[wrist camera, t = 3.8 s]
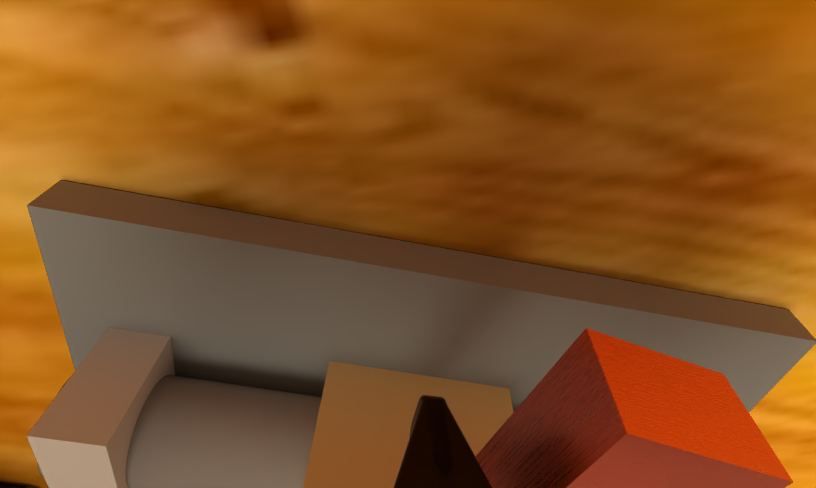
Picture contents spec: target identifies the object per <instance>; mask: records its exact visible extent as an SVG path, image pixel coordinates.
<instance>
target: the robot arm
mask: <svg viewBox="0 0 816 488" xmlns="http://www.w3.org/2000/svg"><path fill="white" fill-rule="evenodd" d="M0 488H20V487H11V486H3V485H0ZM394 488H492V486H491V484H490V482H489V481H488V479H487V477H486V475H485V473H484V471H483V470H482V468H481V466H480V464H479V462H478V460H477V459H476V457H475V455H474V453H473V451H472V449H471V447H470V446H469V444H468V442H467V440H466V438H465V436H464V435H463V433H462V431H461V429H460V427H459V425H458V424H457V422H456V420H455V418H454V416H453V414H452V413H451V411H450V409H449V407H448V405H447V403H446V400H445V399H444V398H443V397H438V396H430V395H422V396H421V397H420V398H419V401H418V404H417V407H416V410H415V413H414V417H413V420H412V423H411V429H410V438H409V441H408V445H407V448H406V451H405V454H404V457H403V460H402V463H401V466H400V469H399V472H398V475H397V478H396V481H395V484H394Z"/></svg>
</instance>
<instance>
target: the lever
mask: <svg viewBox="0 0 816 488" xmlns="http://www.w3.org/2000/svg"><path fill="white" fill-rule="evenodd" d="M475 457H476V459H477V460H478V462H479V464H480V466H481V468H482V470H483V471H484V473H485V475H486V477H487V479H488V481H489V482H490V484H491V486H492V488H785V487H786V486H788V485H790V484H791V483H793V481H792V479H791V478H790V476H789V475H788V473H787V472H786V470H785V469H784V467H783V465H782V464H781V462H780V461H779V459H778V458H777V456H776V455H775V453H774V451H773V450H772V448H771V447H770V445H769V444H768V442H767V441H766V439H765V437H764V436H763V434H762V433H761V431H760V430H759V428H758V427H757V425H756V423H755V422H754V420H753V419H752V417H751V416H750V414H749V413H748V411H747V409H746V408H745V406H744V405H743V403H742V402H741V400H740V399H739V397H738V395H737V394H736V392H735V391H734V389H733V388H732V386H731V385H730V383H729V381H728V380H727V378H726V377H725V375H724V374H722V373H719V372H716V371H713V370H710V369H707V368H704V367H701V366H698V365H695V364H692V363H689V362H687V361H684V360H681V359H678V358H675V357H672V356H669V355H666V354H663V353H660V352H657V351H654V350H651V349H648V348H645V347H642V346H639V345H636V344H633V343H630V342H627V341H624V340H621V339H618V338H615V337H612V336H609V335H606V334H603V333H600V332H597V331H594V330H591V329H588V328H586V329H585V330H584V331H583V332H582V333H581V334H580V336H579V337H578V338H577V339H576V340H575V341H574V343H573V344H572V345H571V346H570V347H569V348H568V350H567V351H566V352H565V353H564V354H563V355H562V356H561V358H560V359H559V360H558V361H557V362H556V363H555V365H554V366H553V367H552V368H551V369H550V370H549V372H548V373H547V374H546V375H545V376H544V377H543V379H542V380H541V381H540V382H539V383H538V384H537V386H536V387H535V388H534V389H533V390H532V391H531V392H530V394H529V395H528V396H527V397H526V398H525V399H524V401H523V402H522V403H521V404H520V405H519V406H518V408H517V409H516V410H515V411H514V412H513V413H512V415H511V416H510V417H509V418H508V419H507V420H506V422H505V423H504V424H503V425H502V426H501V427H500V428H499V430H498V431H497V432H496V433H495V434H494V435H493V437H492V438H491V439H490V440H489V441H488V442H487V444H486V445H485V446H484V447H483V448H482V449H481V451H480V452H479V453H478V454H477V455H476V456H475Z"/></svg>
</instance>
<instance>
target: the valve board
mask: <svg viewBox="0 0 816 488" xmlns="http://www.w3.org/2000/svg"><path fill="white" fill-rule="evenodd" d="M27 207H28V210H29V214H30V217H31V221H32V224H33V227H34V231H35V234H36V238H37V241H38V244H39V248H40V251H41V255H42V258H43V261H44V265H45V268H46V272H47V275H48V279H49V282H50V285H51V289H52V292H53V296H54V299H55V302H56V306H57V309H58V313H59V316H60V319H61V323H62V326H63V330H64V333H65V337H66V340H67V343H68V347H69V350H70V354H71V357H72V360H73V364H74V367H75V372H74V373H73V375H72V376H71V377H70V378H69V379H68V380H67V382H66V383H65V384H64V385H63V387H62V388H61V390H60V391H59V393H58V394H57V396H56V397H55V399H54V400H53V401H52V403H51V404H50V405H49V407H48V408H47V409H46V411H45V412H44V413H43V415H42V416H41V417H40V419H39V420H38V421H37V423H36V424H35V425H34V427H33V428H32V429H31V431H30V432H29V433H28V435H27V438H28V441H29V443H30V445H31V448H32V450H33V452H34V455H35V457H36V459H37V463H38V469H39V472H40V474H41V476H42V477H43V478H44V479H45V480H46V483H47V485H48V487H49V488H394V484H395V481H396V478H397V475H398V472H399V469H400V466H401V463H402V460H403V457H404V454H405V451H406V448H407V445H408V441H409V438H410V429H411V423H412V420H413V417H414V413H415V410H416V407H417V404H418V401H419V398H420V397H421V396H422V395H430V396H438V397H443V398H444V399H445V400H446V403H447V405H448V407H449V409H450V411H451V413H452V414H453V416H454V418H455V420H456V422H457V424H458V425H459V427H460V429H461V431H462V433H463V435H464V436H465V438H466V440H467V442H468V444H469V446H470V447H471V449H472V451H473V453H474V455H475V456H476V455H477V454H478V453H479V452H480V451H481V449H482V448H483V447H484V446H485V445H486V444H487V442H488V441H489V440H490V439H491V438H492V437H493V435H494V434H495V433H496V432H497V431H498V430H499V428H500V427H501V426H502V425H503V424H504V423H505V422H506V420H507V419H508V418H509V417H510V416H511V415H512V413H513V412H514V411H515V410H516V409H517V408H518V406H519V405H520V404H521V403H522V402H523V401H524V399H525V398H526V397H527V396H528V395H529V394H530V392H531V391H532V390H533V389H534V388H535V387H536V386H537V384H538V383H539V382H540V381H541V380H542V379H543V377H544V376H545V375H546V374H547V373H548V372H549V370H550V369H551V368H552V367H553V366H554V365H555V363H556V362H557V361H558V360H559V359H560V358H561V356H562V355H563V354H564V353H565V352H566V351H567V350H568V348H569V347H570V346H571V345H572V344H573V343H574V341H575V340H576V339H577V338H578V337H579V336H580V334H581V333H582V332H583V331H584V330H585V329H586V328H588V329H591V330H594V331H597V332H600V333H603V334H606V335H609V336H612V337H615V338H618V339H621V340H624V341H627V342H630V343H633V344H636V345H639V346H642V347H645V348H648V349H651V350H654V351H657V352H660V353H663V354H666V355H669V356H672V357H675V358H678V359H681V360H684V361H687V362H689V363H692V364H695V365H698V366H701V367H704V368H707V369H710V370H713V371H716V372H719V373H722V374H724V375H725V377H726V378H727V380H728V381H729V383H730V385H731V386H732V388H733V389H734V391H735V392H736V394H737V395H738V397H739V399H740V400H741V402H742V403H743V405H744V406H745V408H746V409H747V411H748V413H749V412H750V411H751V410H752V409H753V407H754V406H755V405H756V404H757V403H758V402H759V401H760V400H761V399H762V398H763V397H764V396H765V395H766V394H767V393H768V392H769V391H770V390H771V389H772V388H773V387H774V386H775V385H776V384H777V383H778V382H779V381H780V380H781V379H782V378H783V377H784V376H785V374H786V373H787V372H788V371H789V370H790V369H791V368H792V367H793V366H794V365H795V364H796V363H797V362H798V361H799V360H800V359H801V358H802V357H803V356H804V355H805V354H806V353H807V352H808V351H809V350H810V349H811V348H812V347H813V346H814V345H815V344H816V339H815V338H814V337H813V336H812V335H811V334H810V333H809V331H808V330H807V329H806V328H805V327H804V326H803V325H802V324H801V323H800V322H799V320H798V319H797V318H796V317H795V316H794V315H793V314H792V313H791V312H790V311H789V309H783V308H778V307H772V306H766V305H761V304H755V303H750V302H744V301H738V300H733V299H727V298H721V297H716V296H710V295H705V294H699V293H693V292H688V291H682V290H676V289H671V288H665V287H660V286H654V285H648V284H643V283H637V282H631V281H626V280H620V279H615V278H609V277H603V276H598V275H592V274H586V273H581V272H575V271H569V270H564V269H558V268H553V267H547V266H541V265H536V264H530V263H524V262H519V261H513V260H508V259H502V258H496V257H491V256H485V255H479V254H474V253H468V252H463V251H457V250H451V249H446V248H440V247H434V246H429V245H423V244H418V243H412V242H406V241H401V240H395V239H389V238H384V237H378V236H373V235H367V234H361V233H356V232H350V231H344V230H339V229H333V228H328V227H322V226H316V225H311V224H305V223H299V222H294V221H288V220H283V219H277V218H271V217H266V216H260V215H254V214H249V213H243V212H237V211H232V210H226V209H221V208H215V207H209V206H204V205H198V204H192V203H187V202H181V201H176V200H170V199H164V198H159V197H153V196H147V195H142V194H136V193H131V192H125V191H119V190H114V189H108V188H102V187H97V186H91V185H86V184H80V183H74V182H69V181H63V180H60V181H59V182H57V183H56V184H55V185H53V186H52V187H51V188H49V189H48V190H47V191H45V192H44V193H43V194H41V195H40V196H39V197H37V198H36V199H35V200H33V201H32V202H31V203H29V204H28V205H27Z"/></svg>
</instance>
